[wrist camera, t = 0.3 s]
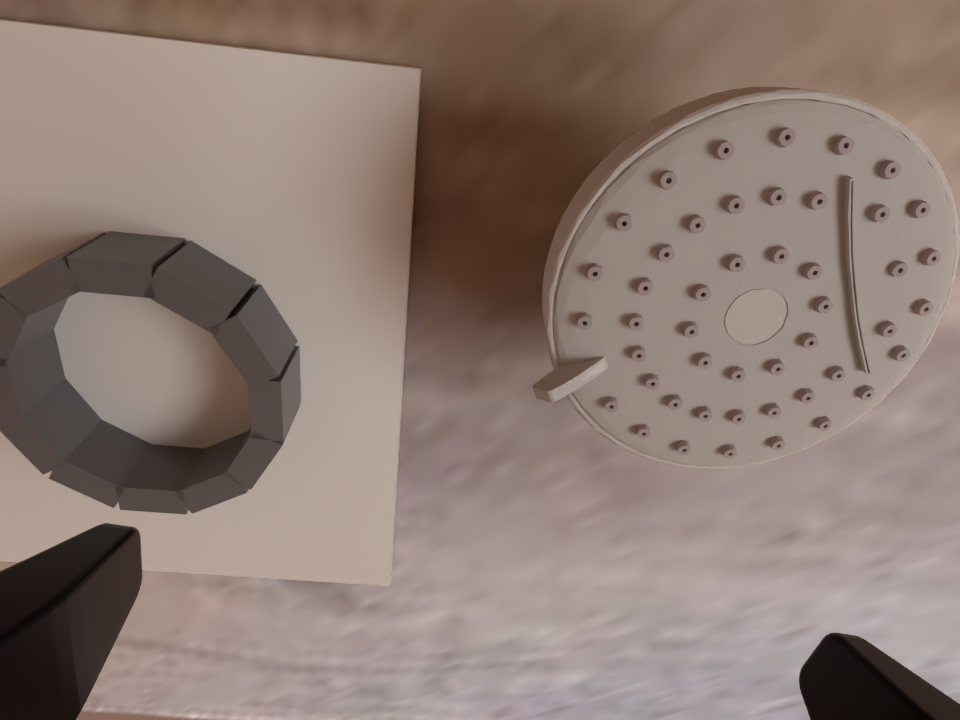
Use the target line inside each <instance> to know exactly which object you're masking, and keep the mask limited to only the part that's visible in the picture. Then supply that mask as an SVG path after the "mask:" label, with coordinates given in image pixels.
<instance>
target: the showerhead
mask: <svg viewBox="0 0 960 720" xmlns="http://www.w3.org/2000/svg"><path fill="white" fill-rule="evenodd" d="M958 256H959V228H958V216H957V211H956V206H955V201H954V198H953V195H952V192H951V189H950V186H949V183H948V181H947V179H946V177H945V175H944V173H943V170H942V168H941V166H940V165H939V163H938V162H937V160H936V159H935V157H934V156H933V154H932V153H931V151H930V150H929V149H928V148H927V146H926V145H925V144H924V143H923V142H922V141H921V139H920V138H919V137H918V136H917V135H916V134H915V133H913V132H912V131H911V130H910V129H909V128H908V127H907V126H905V125H904V124H903V123H902V122H900V121H899V120H897V119H896V118H894V117H893V116H891V115H890V114H888V113H887V112H885V111H883V110H881V109H879V108H877V107H874V106H872V105H870V104H868V103H866V102H863V101H860V100H857V99H854V98H851V97H848V96H844V95H839V94H835V93H830V92H825V91H816V90H808V89H800V88H785V87H749V88H741V89H733V90H729V91H724V92H720V93H715V94H712V95H709V96H706V97H703V98H700V99H697V100H694V101H692V102H689V103H687V104H684V105H682V106H679V107H677V108H675V109H672V110H670V111H668V112H667V113H665V114H663V115H661V116H659V117H657V118H656V119H654V120H652V121H650V122H649V123H648V124H646V125H645V126H643V127H642V128H640V129H639V130H637V131H636V132H635V133H633V134H632V135H631V136H629V137H628V138H627V139H625V140H624V141H623V142H622V143H620V144H619V145H618V146H617V147H615V148H614V149H613V150H612V151H611V152H610V153H609V154H608V155H607V156H606V157H605V158H604V159H603V160H602V161H601V162H600V163H599V164H598V165H597V167H596V168H595V169H594V170H593V171H592V172H591V174H590V175H589V176H588V177H587V178H586V180H585V181H584V182H583V184H582V185H581V187H580V188H579V189H578V191H577V192H576V194H575V195H574V197H573V198H572V200H571V202H570V204H569V205H568V207H567V209H566V210H565V212H564V214H563V216H562V218H561V220H560V223H559V225H558V227H557V229H556V232H555V235H554V238H553V241H552V244H551V247H550V250H549V254H548V257H547V261H546V265H545V271H544V278H543V288H542V308H543V319H544V326H545V332H546V338H547V343H548V349H549V354H550V358H551V361H552V365H553V368H554V370H553V371H552V372H550V373H549V374H547V375H546V376H545V377H544V378H542V379H541V380H540V381H538V382H537V383H536V384H535V385H533V390H534V392H535V395H536V397H537V399H540V400H544V401H549V402H555V401H557V400H559V399H561V398H563V397H565V396H567V397H568V399H569V401H570V402H571V403H572V405H573V406H574V407H575V409H576V410H577V412H578V413H579V414H580V415H581V416H582V417H583V418H584V419H585V420H586V421H587V423H588V424H590V425H591V426H592V427H593V428H594V429H595V430H596V431H598V432H599V433H600V434H601V435H603V436H604V437H605V438H607V439H608V440H610V441H611V442H613V443H614V444H616V445H618V446H620V447H621V448H623V449H625V450H627V451H629V452H631V453H634V454H636V455H638V456H640V457H643V458H646V459H649V460H652V461H655V462H659V463H664V464H668V465H672V466H677V467H685V468H700V469H723V468H736V467H742V466H748V465H754V464H760V463H766V462H769V461H772V460H775V459H778V458H781V457H785V456H788V455H791V454H794V453H797V452H800V451H802V450H805V449H807V448H809V447H811V446H813V445H815V444H817V443H819V442H822V441H824V440H826V439H828V438H829V437H831V436H833V435H834V434H836V433H838V432H839V431H841V430H843V429H845V428H846V427H848V426H850V425H851V424H852V423H854V422H855V421H856V420H858V419H859V418H860V417H861V416H863V415H864V414H865V413H867V412H868V411H869V410H870V409H872V408H873V407H874V406H876V405H877V404H878V403H879V402H881V401H882V400H883V399H884V398H885V397H886V396H887V395H888V394H889V393H890V391H891V390H892V389H893V388H894V387H895V386H896V385H897V384H898V383H899V382H900V381H901V380H902V379H903V378H904V377H905V376H906V375H907V374H908V373H909V371H910V370H911V368H912V367H913V366H914V364H915V363H916V361H917V360H918V358H919V357H920V356H921V354H922V353H923V351H924V350H925V348H926V347H927V346H928V344H929V343H930V341H931V339H932V337H933V335H934V333H935V331H936V329H937V327H938V325H939V323H940V321H941V318H942V316H943V314H944V312H945V310H946V308H947V306H948V302H949V299H950V295H951V292H952V288H953V285H954V281H955V277H956V270H957V263H958Z"/></svg>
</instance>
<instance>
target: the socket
mask: <svg viewBox="0 0 960 720" xmlns="http://www.w3.org/2000/svg"><path fill="white" fill-rule="evenodd" d="M421 69H422V68H418V67H410V66H401V65H393V64H384V63H376V62H367V61H359V60H350V59H342V58H333V57H325V56H316V55H308V54H299V53H291V52H282V51H274V50H265V49H257V48H248V47H240V46H231V45H222V44H214V43H205V42H197V41H188V40H180V39H171V38H163V37H154V36H146V35H137V34H129V33H120V32H112V31H103V30H95V29H86V28H78V27H69V26H61V25H52V24H43V23H35V22H26V21H18V20H9V19H1V18H0V561H7V562H21V561H23V560H25V559H28V558H30V557H32V556H34V555H36V554H38V553H40V552H42V551H44V550H47V549H49V548H51V547H53V546H55V545H57V544H59V543H61V542H63V541H66V540H68V539H70V538H72V537H74V536H76V535H78V534H80V533H82V532H84V531H87V530H89V529H91V528H93V527H95V526H97V525H100V524H104V523H110V524H116V525H123V526H130V527H135V528H136V529H138V530H139V533H140V537H141V556H142V570H147V571H163V572H179V573H194V574H210V575H225V576H241V577H257V578H272V579H288V580H303V581H319V582H335V583H350V584H366V585H381V586H390V585H391V578H392V565H393V548H394V531H395V514H396V496H397V479H398V462H399V445H400V428H401V411H402V394H403V377H404V360H405V343H406V326H407V308H408V291H409V274H410V257H411V240H412V223H413V206H414V189H415V172H416V155H417V137H418V120H419V103H420V86H421Z"/></svg>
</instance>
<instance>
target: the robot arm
mask: <svg viewBox="0 0 960 720" xmlns="http://www.w3.org/2000/svg"><path fill="white" fill-rule="evenodd" d="M141 581H142V556H141V537H140V533H139V530H138V529H136V528H135V527H130V526H123V525H116V524H110V523H104V524H100V525H97V526H95V527H93V528H91V529H89V530H87V531H84V532H82V533H80V534H78V535H76V536H74V537H72V538H70V539H68V540H66V541H63V542H61V543H59V544H57V545H55V546H53V547H51V548H49V549H47V550H44V551H42V552H40V553H38V554H36V555H34V556H32V557H30V558H28V559H25V560H23V561H21V562H19V563H17V564H15V565H13V566H11V567H9V568H6V569H4V570H2V571H0V720H76V718H77V717H78V715H79V713H80V712H81V710H82V708H83V706H84V704H85V702H86V700H87V698H88V696H89V694H90V692H91V690H92V688H93V686H94V684H95V682H96V680H97V678H98V676H99V674H100V672H101V670H102V668H103V666H104V664H105V662H106V659H107V657H108V655H109V653H110V651H111V649H112V647H113V645H114V643H115V641H116V639H117V637H118V635H119V633H120V631H121V629H122V627H123V625H124V623H125V621H126V618H127V616H128V614H129V612H130V610H131V608H132V606H133V604H134V602H135V600H136V598H137V595H138V592H139V590H140V586H141ZM799 684H800V690H801V693H802V696H803V699H804V702H805V705H806V708H807V710H808V713H809V716H810V719H811V720H960V704H959V703H957V702H956V701H954V700H953V699H951V698H950V697H948V696H947V695H945V694H944V693H942V692H941V691H939V690H938V689H937V688H935V687H934V686H932V685H931V684H929V683H928V682H926V681H925V680H923V679H922V678H920V677H919V676H917V675H916V674H914V673H913V672H912V671H910V670H909V669H907V668H906V667H904V666H903V665H901V664H900V663H898V662H897V661H895V660H894V659H892V658H891V657H890V656H888V655H887V654H885V653H884V652H882V651H881V650H879V649H878V648H876V647H875V646H873V645H872V644H870V643H869V642H867V641H866V640H864V639H862V638H860V637H858V636H854V635H848V634H841V633H830V634H828V635H826V636H825V637H824V638H823V639H822V641H821V642H820V644H819V645H818V646H817V648H816V649H815V650H814V652H813V653H812V654H811V656H810V657H809V658H808V660H807V661H806V662H805V664H804V665H803V667H802V668H801V671H800V676H799Z"/></svg>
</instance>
